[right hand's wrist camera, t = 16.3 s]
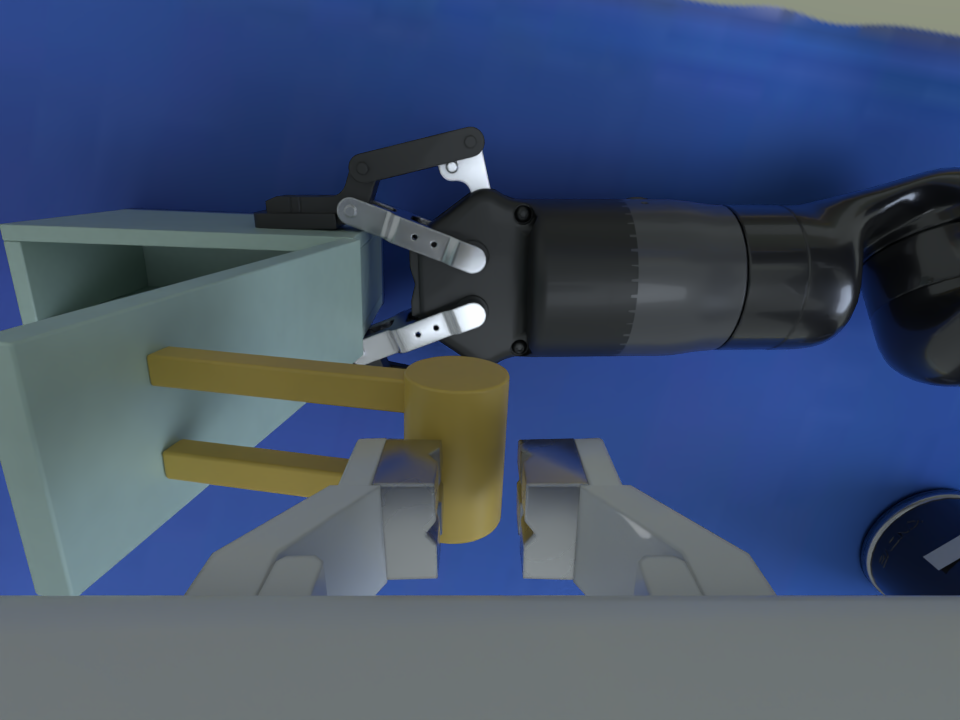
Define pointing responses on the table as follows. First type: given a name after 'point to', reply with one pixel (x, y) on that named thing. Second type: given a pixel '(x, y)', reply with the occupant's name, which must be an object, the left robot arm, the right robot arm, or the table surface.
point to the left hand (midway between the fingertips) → (268, 280)
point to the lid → (217, 408)
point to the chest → (155, 255)
